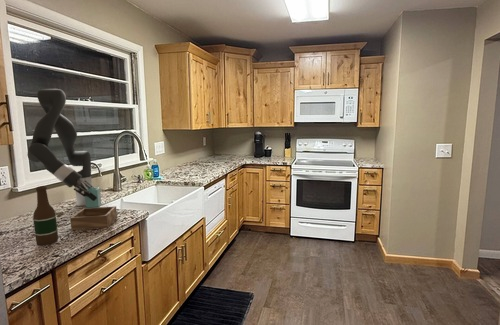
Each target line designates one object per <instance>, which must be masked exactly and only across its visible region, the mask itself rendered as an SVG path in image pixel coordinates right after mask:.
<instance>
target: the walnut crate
mask: <svg viewBox="0 0 500 325" xmlns="http://www.w3.org/2000/svg"><path fill="white" fill-rule="evenodd" d="M117 218H118V214H117V206H116V205H114V206H102V207H101V206H100V207H99V208H87V209H86V207H84V208H82V209H80V210H79V211H78V212H76V213H75V214H74V215H72V216H71V217H69V220H70V231H83V230H93V229H95V230H96V229H107V228H109V227H110V226H111V225H112V224H113V222H114V221H115V220H116V219H117Z"/></svg>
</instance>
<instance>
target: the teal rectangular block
mask: <svg viewBox="0 0 500 325" xmlns="http://www.w3.org/2000/svg"><path fill="white" fill-rule="evenodd" d="M88 191H90V192H91V193H92V194H93V195H95V196H96V197H97V199H96V200H95V201H93V200H91V199H90V198H89V197H86V196H85V203H86V206H85V208H86V209H87V208H99V207H101V205H102V196H101V195H102V194H101V186H99V187H98V186H97V187H94V188H90V189H88Z"/></svg>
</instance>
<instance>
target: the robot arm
mask: <svg viewBox="0 0 500 325" xmlns="http://www.w3.org/2000/svg"><path fill="white" fill-rule="evenodd" d="M36 94H37V100H38V103H39V105H40V107H41V108H42V109H43V111H44V112H45V115H44V116H42V117H41V118H40V119H39V120H38V122H37V123H36V125H35V128H34V131H33V133H32V139H31V143H30V145H29V146H28V150H27V158H28V160H30V161H31V162H33V163H41V164H42V165H43V167H44V169H45V170H46V171H48V172H49V173H50V174H51V175H53V176H54V177H55V178H56V179H58V181H60V182H62V183H63V184H64V185H66V186H67V187H68V188H72V187H74V188H73V190H74V191H75V201H76V206H77V207H78V206H79V207H86V203H85V196H86V197H89V198H90V199H91V200H93V201H95V200H96V199H97V197H96V196H95V195H93V194H92V193H91V192H90V191H88V189H90V188H95V187H94V186H93V182H92V181H93V180H92V179H93V178H92V159H91V158H92V156H91V153H90V152H89V151H87V150H76V149H75V148H74V144H75V142H76V139H77V137H78V133H77V130H76V127H75V125H74V124H73V122H71V120H69V119H68V118H67V117H66V116H64V115H63V114H61V113H62V111H63V109H64V108H65V106H66V102H67V96H66V93H65V91H63V90H62V89H60V88H59V89H58V88H42V89H39V90H38V91H37V93H36ZM54 131H55V133H56V135H57V137H58V138H59V141H60V143H61V145H62V147H63V148H64V151H65V154H66V156H67V160H68V162H69V164H70V165H71V166H73V167H82V169H80V170H78V171H77V170H75V169H73V168H72V167H71V166H70V165H67V164H66V163H65V162H63V161H62V160H61V159H60V158H58V157H57V156H56V155H55V153H54V152H53V151H52V150H51V149H50V148H49V147H48V146H49V143H50V142H51V139H52V135H53V132H54Z"/></svg>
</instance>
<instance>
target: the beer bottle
mask: <svg viewBox="0 0 500 325" xmlns="http://www.w3.org/2000/svg"><path fill="white" fill-rule="evenodd" d="M47 189H48V187H47V186H45V185H40V186H36V187H35V191H36V199H37V200H36V202H37V205H36V208H35V209H34V212H33V216H32V217H33V219H32V220H33V228H34V235H35V242H36V245H37V246H41V247H42V246H49V245H52V244H55V243H58V239H59V234H58V223H57V215H56V211H55V208H54V207H53V206H52V205H51V204H50V201H49V197H48V192H47Z"/></svg>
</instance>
